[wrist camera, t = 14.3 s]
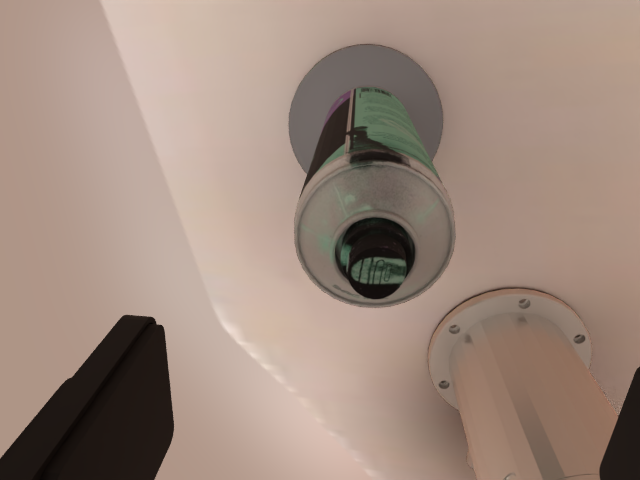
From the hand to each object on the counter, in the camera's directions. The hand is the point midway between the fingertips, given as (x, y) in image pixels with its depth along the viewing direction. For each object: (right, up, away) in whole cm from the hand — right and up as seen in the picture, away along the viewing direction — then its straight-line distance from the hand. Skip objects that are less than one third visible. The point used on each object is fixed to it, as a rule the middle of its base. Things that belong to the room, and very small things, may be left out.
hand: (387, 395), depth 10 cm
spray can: (+2, +11, +22) cm, 25 cm away
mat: (+2, +11, +24) cm, 26 cm away
